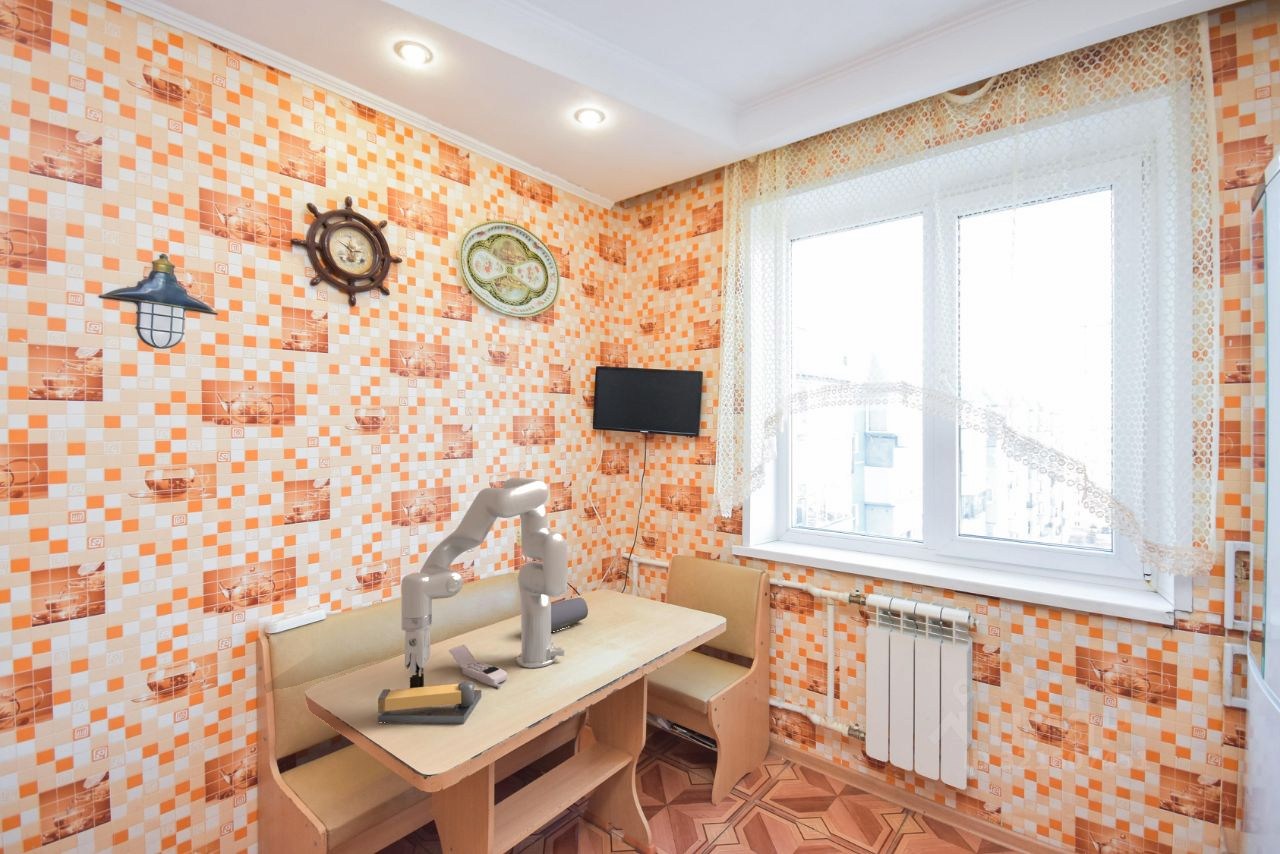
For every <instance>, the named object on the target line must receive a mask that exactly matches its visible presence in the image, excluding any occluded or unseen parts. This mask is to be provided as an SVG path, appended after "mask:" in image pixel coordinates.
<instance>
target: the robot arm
mask: <svg viewBox="0 0 1280 854" xmlns="http://www.w3.org/2000/svg"><path fill="white" fill-rule="evenodd" d="M548 497H549V488H548V486H547V484H546V482H544V481H542V480H541V479H535V478H523V477H521V478H520V477H512V478H509V479H507V480H505V481H504V483H503V484H502V488H498V487H486V488H483V489H481V490H480V491H479V492H478V493H477V495H476V496H475V498H473V501H472V503H471V505H470V506H469V508H468V509H467V511H466V513H465V515H464V516H463V517H462V519H461V521H460V523H459V524H458V526H457V527H456V529H455V530H454V531H453V532H451V533H450V534H449V535H447V536H446V538H444V539H443V540H442V541H441V542H440V543H439V544H438V545H436V547H435V548H434V549H433V550H432V551H431V553H430V554H429V555H428V557H427V559H426V561H425V562H424V564H423V565H422V567H421V569H420V572H414V573H409V574H407V575H404V576H403V578H402V579H401V587H400V588H401V589H400V590H401V592H400V594H401V596H400V597H401V600H400V601H401V604H400V605H401V612H400V613H401V616H400V617H401V621H400V622H401V623H400V624H401V630H402V631H404V632H405V633H404V634H405V637H404V667H405V669H406V670H409V688H418V687H425V683H424V682H425V679H424V678H425V677H424V676H425V675H424V674H425V673H424V668H425V667H426V666H427V664H428V662H429V659H430V657H431V634H430V627H432V625H433V620H432V619H433V616H432V615H433V613H432V609H433V607H432V606H433V605H432V603H433V600H437V599H438V600H439V599H448V598H452V597H454V596H456V595H457V594H459V593H460V592H461V590H462V588H463V586H464V578H463V576H462V575H461V574H460V573H459V572H458V571H456V570H453V569H450V568H449V567H450V566H451V564H452V563H453V562H454V560H456V559H457V558H458V557H459V556H460V555H462V554H463V553H465V552H467V551H469V550H473V549H475V548H476V547H478V546H480V545H482V544H483V543H484V542H485V541H486V540H485V539H486V538H487V536H488V534H489V533H490V530H491V529H492V527H493V525H494V523H495V522H496V520H497V518H500V519H507V518H512V517H517V516H519V518H520V536H521V550H522V553H523V555H524V556H525V557H527V558H530V559H533V560H535V561H533V560H532V561H528V562H526V563H525V564H523V565H522V566H521V568H520V569H519V572H518V575H517V581H518V588H519V593H520V605H521V607H520V610H521V613H520V614H521V617H520V619H521V621H520V622H521V623H520V625H521V632H520V633H521V641H520V642H521V643H520V644H521V645H520V648H521V650H520V651H521V653H519V654H518V655H517V656H516V663H517V664H518V665H519V666H521V667H524V668H528V669H529V668H530V669H533V668H542V667H546V666H549V665H551V664H553V663H554V662H555V661H556V660H557V657H564V656H565V653H566V652H565V649H563V647H561V646H560V647H556V646H554V642H552V633H551V604H552V602H551V598H557V597H560V596H561V595H563V594H564V592H565V591H566V589H567V586H568V583H569V582H568V580H569V567H568V566H569V562H568V561H569V560H568V559H569V558H568V546H567V545H568V544H567V541H566V539H565V537H564V536H563V535H562V534H561V533H560V532H556V531H552V530H549V523H548V522H549V521H548V514H547V509H546V506H545V503H546V502H547V501H548ZM536 560H537V561H536ZM540 561H541V562H540Z"/></svg>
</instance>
